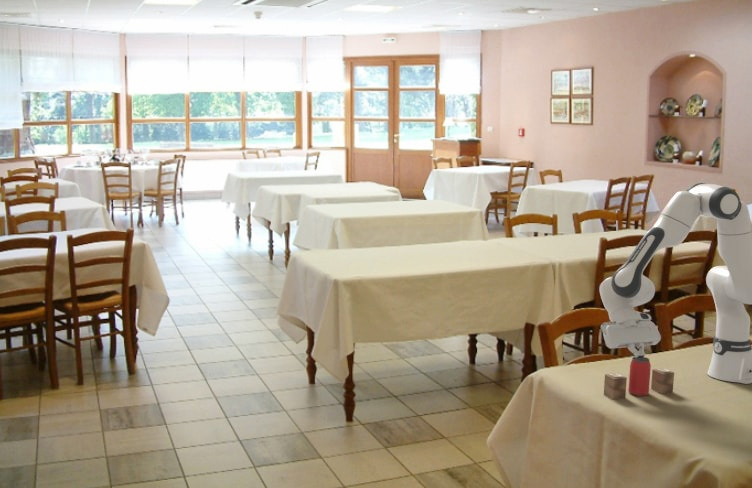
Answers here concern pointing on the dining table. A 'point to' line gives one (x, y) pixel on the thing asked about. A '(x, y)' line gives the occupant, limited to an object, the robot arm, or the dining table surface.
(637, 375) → the beer can
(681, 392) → the dining table surface
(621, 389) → the walnut block
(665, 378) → the walnut block
